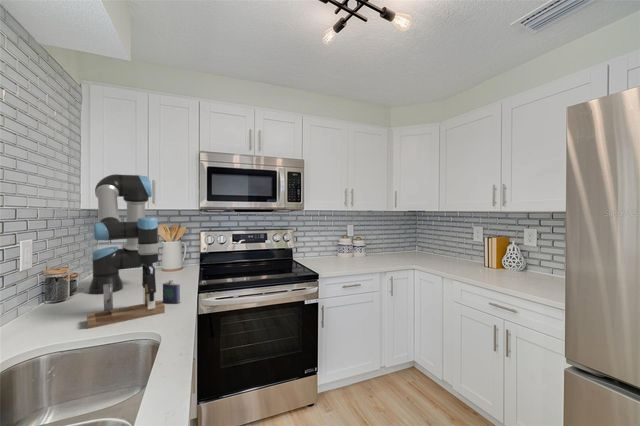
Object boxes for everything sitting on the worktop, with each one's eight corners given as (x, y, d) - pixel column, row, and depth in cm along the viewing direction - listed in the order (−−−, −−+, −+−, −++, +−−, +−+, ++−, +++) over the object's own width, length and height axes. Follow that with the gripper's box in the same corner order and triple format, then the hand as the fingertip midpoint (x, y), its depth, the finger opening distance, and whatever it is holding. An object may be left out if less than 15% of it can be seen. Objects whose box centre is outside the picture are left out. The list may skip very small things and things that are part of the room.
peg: (103, 311, 128) (103, 284, 128) (112, 310, 131) (112, 283, 130) (104, 313, 126) (103, 285, 126) (113, 312, 128) (112, 284, 128)
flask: (181, 302, 141) (180, 280, 140) (176, 304, 138) (176, 281, 138) (165, 300, 143) (165, 278, 143) (160, 302, 140) (160, 280, 140)
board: (87, 321, 117) (86, 291, 117) (160, 307, 134) (159, 280, 134) (87, 328, 110) (86, 296, 110) (164, 312, 127) (164, 284, 127)
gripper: (134, 251, 133) (135, 301, 133) (142, 257, 116) (143, 314, 116) (153, 249, 138) (154, 297, 138) (163, 255, 121) (164, 310, 121)
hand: (149, 305), depth 127 cm, fingers closed on board, 9 cm apart
